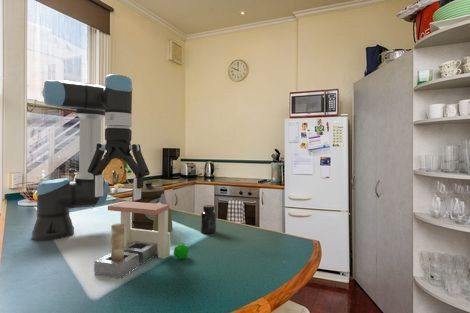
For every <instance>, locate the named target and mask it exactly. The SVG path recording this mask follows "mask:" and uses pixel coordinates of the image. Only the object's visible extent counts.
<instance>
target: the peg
mask: <svg viewBox="0 0 470 313" xmlns="http://www.w3.org/2000/svg"><path fill="white" fill-rule="evenodd" d="M110 233H111V234H110V236H111V237H110V239H111V243H110V248H111V250H110V253H111V260H112V261H121V260H123V259H124V224H121V223H113V224H112V225H111V232H110Z"/></svg>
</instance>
